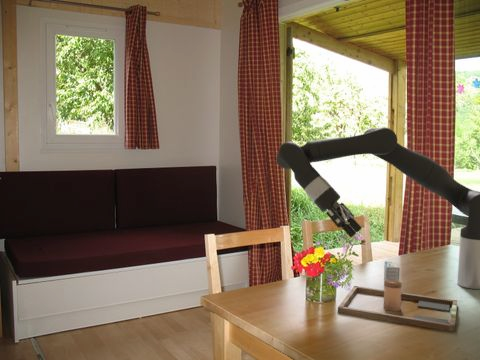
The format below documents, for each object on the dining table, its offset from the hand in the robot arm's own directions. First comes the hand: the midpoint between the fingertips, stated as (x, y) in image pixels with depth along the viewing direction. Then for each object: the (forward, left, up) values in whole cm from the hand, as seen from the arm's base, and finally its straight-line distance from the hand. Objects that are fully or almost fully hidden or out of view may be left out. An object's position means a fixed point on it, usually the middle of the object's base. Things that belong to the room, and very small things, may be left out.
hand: (356, 232), depth 159 cm
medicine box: (-19, +9, -22) cm, 31 cm away
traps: (0, +23, -22) cm, 32 cm away
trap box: (0, +14, -22) cm, 26 cm away
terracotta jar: (0, +12, -22) cm, 25 cm away
